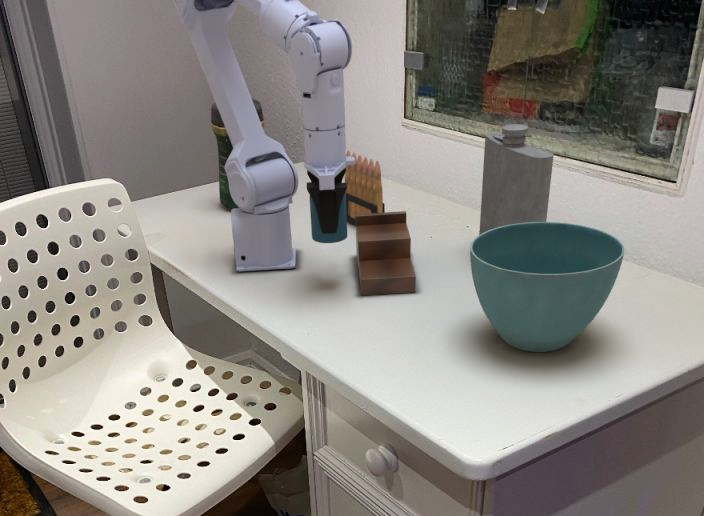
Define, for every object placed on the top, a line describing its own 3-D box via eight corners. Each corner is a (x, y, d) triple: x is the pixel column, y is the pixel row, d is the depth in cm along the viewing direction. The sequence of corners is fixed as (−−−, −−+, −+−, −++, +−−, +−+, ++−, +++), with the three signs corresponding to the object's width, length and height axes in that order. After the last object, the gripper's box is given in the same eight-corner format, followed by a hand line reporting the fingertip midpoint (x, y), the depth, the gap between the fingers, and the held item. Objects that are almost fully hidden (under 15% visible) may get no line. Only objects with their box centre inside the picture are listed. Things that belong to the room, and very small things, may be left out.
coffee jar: (231, 214, 154) (217, 107, 143) (216, 204, 160) (202, 100, 148) (277, 205, 157) (268, 99, 146) (261, 194, 163) (251, 92, 152)
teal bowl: (439, 327, 111) (442, 238, 103) (550, 298, 116) (561, 211, 109) (517, 384, 98) (527, 286, 90) (639, 349, 103) (658, 253, 95)
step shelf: (361, 295, 121) (360, 249, 117) (356, 257, 133) (355, 214, 129) (415, 292, 121) (416, 245, 116) (405, 254, 133) (405, 211, 129)
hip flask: (544, 279, 122) (560, 135, 110) (520, 283, 121) (533, 140, 109) (492, 245, 134) (501, 112, 122) (470, 249, 133) (477, 116, 121)
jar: (312, 244, 118) (309, 202, 114) (312, 232, 122) (309, 191, 119) (347, 242, 118) (346, 199, 114) (346, 230, 122) (345, 188, 118)
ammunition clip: (385, 233, 141) (385, 160, 134) (376, 236, 140) (375, 162, 133) (352, 218, 149) (349, 148, 141) (343, 220, 148) (340, 150, 141)
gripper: (355, 137, 105) (358, 241, 113) (351, 111, 116) (354, 208, 125) (301, 140, 105) (307, 244, 113) (302, 115, 117) (308, 211, 125)
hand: (329, 226), depth 119 cm, fingers closed on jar, 5 cm apart
